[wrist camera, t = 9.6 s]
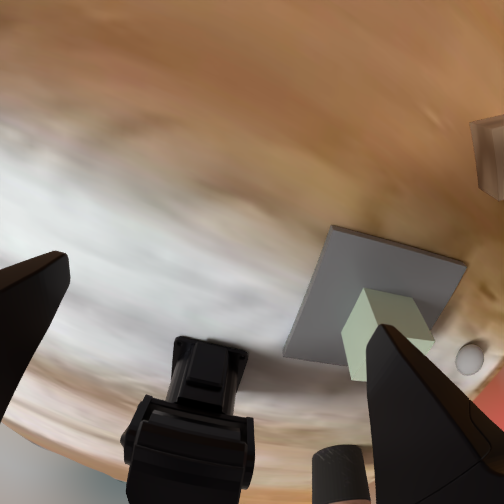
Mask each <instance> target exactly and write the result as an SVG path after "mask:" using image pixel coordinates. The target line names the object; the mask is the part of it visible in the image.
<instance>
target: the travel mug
mask: <svg viewBox="0 0 504 504" xmlns="http://www.w3.org/2000/svg"><path fill="white" fill-rule="evenodd" d="M312 504H371V499H370V493H369V487H368V482H367V476H366V470H365V465H364V460H363V455H362V451H361V449H360V448H359V447H357V446H354V445H338V446H332V447H328V448H325V449H322V450H320V451H318V452H317V453H315V454H314V455H313V458H312Z"/></svg>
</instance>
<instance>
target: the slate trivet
mask: <svg viewBox="0 0 504 504" xmlns="http://www.w3.org/2000/svg"><path fill="white" fill-rule="evenodd" d="M466 268H467V266H466V265H465V264H464V263H463V262H461V261H458V260H454V259H451V258H448V257H444V256H441V255H438V254H434V253H431V252H428V251H424V250H421V249H418V248H414V247H411V246H407V245H404V244H400V243H397V242H393V241H389V240H386V239H382V238H379V237H375V236H371V235H368V234H364V233H360V232H356V231H353V230H349V229H345V228H341V227H337V226H334V225H331V227H330V229H329V232H328V235H327V238H326V241H325V243H324V246H323V249H322V252H321V254H320V257H319V260H318V263H317V265H316V268H315V271H314V273H313V276H312V278H311V281H310V284H309V286H308V289H307V292H306V294H305V297H304V299H303V302H302V304H301V307H300V309H299V312H298V314H297V317H296V319H295V322H294V324H293V327H292V329H291V332H290V334H289V336H288V339H287V341H286V344H285V346H284V348H283V357H288V358H294V359H300V360H307V361H313V362H320V363H327V364H335V365H343V366H348V362H347V357H346V353H345V348H344V344H343V339H342V335H341V331H342V330H343V328H344V326H345V324H346V322H347V320H348V318H349V316H350V314H351V312H352V310H353V308H354V306H355V304H356V302H357V300H358V298H359V296H360V294H361V292H362V290H363V288H368V289H372V290H377V291H382V292H387V293H391V294H396V295H401V296H406V297H411V298H413V300H414V302H415V303H416V305H417V307H418V309H419V311H420V313H421V315H422V316H423V318H424V320H425V322H426V324H427V326H428V328H429V330H431V328H432V327H433V325H434V324H435V322H436V321H437V319H438V317H439V316H440V314H441V312H442V311H443V309H444V308H445V306H446V304H447V302H448V301H449V299H450V297H451V296H452V294H453V292H454V290H455V289H456V287H457V285H458V283H459V281H460V280H461V278H462V276H463V274H464V272H465V270H466Z"/></svg>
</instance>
